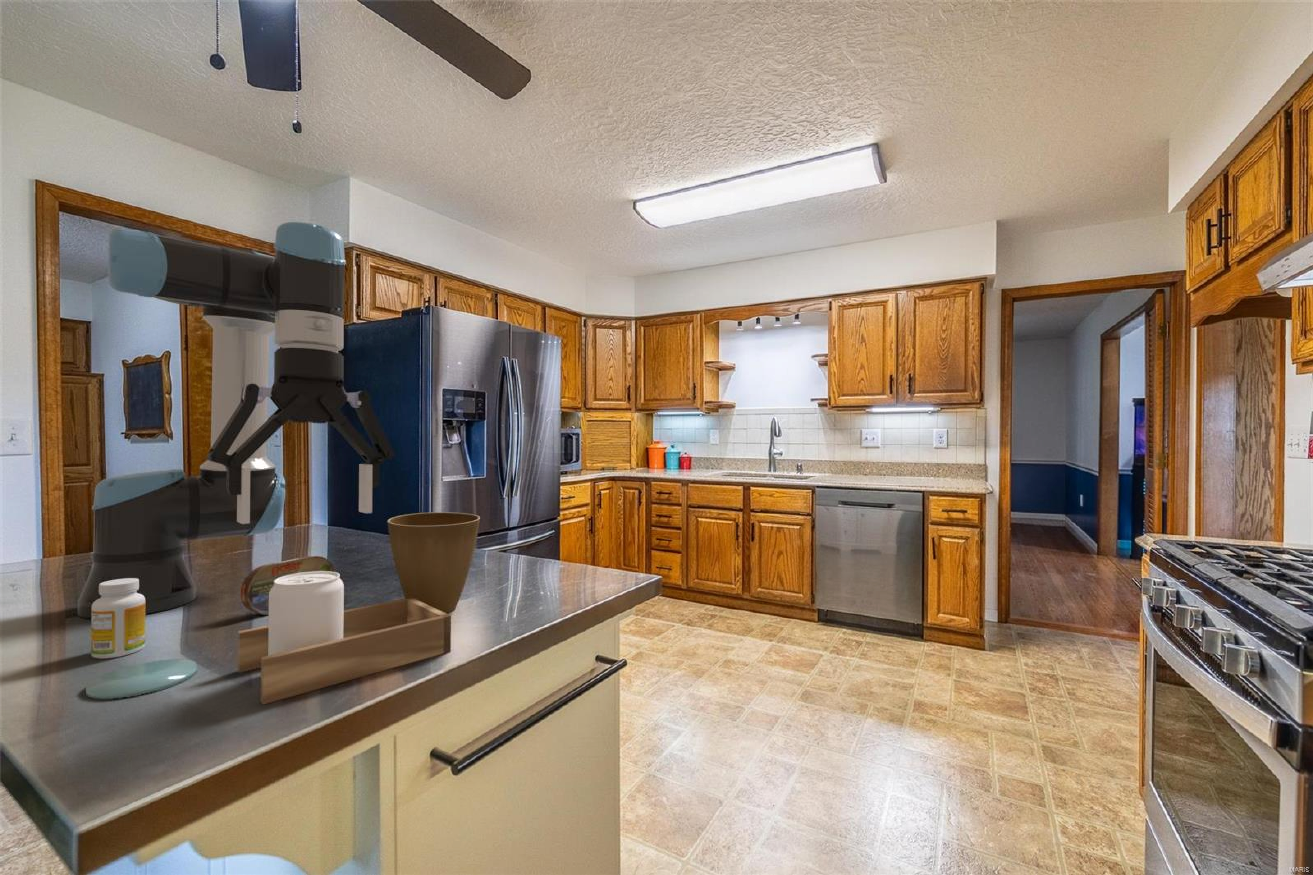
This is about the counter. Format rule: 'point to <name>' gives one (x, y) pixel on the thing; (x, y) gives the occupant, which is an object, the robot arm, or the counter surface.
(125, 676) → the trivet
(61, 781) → the counter surface
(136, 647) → the supplement bottle
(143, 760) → the counter surface
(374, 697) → the counter surface
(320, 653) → the brown wooden rectangular tray
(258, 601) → the tin
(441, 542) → the plant pot
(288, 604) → the beverage can
